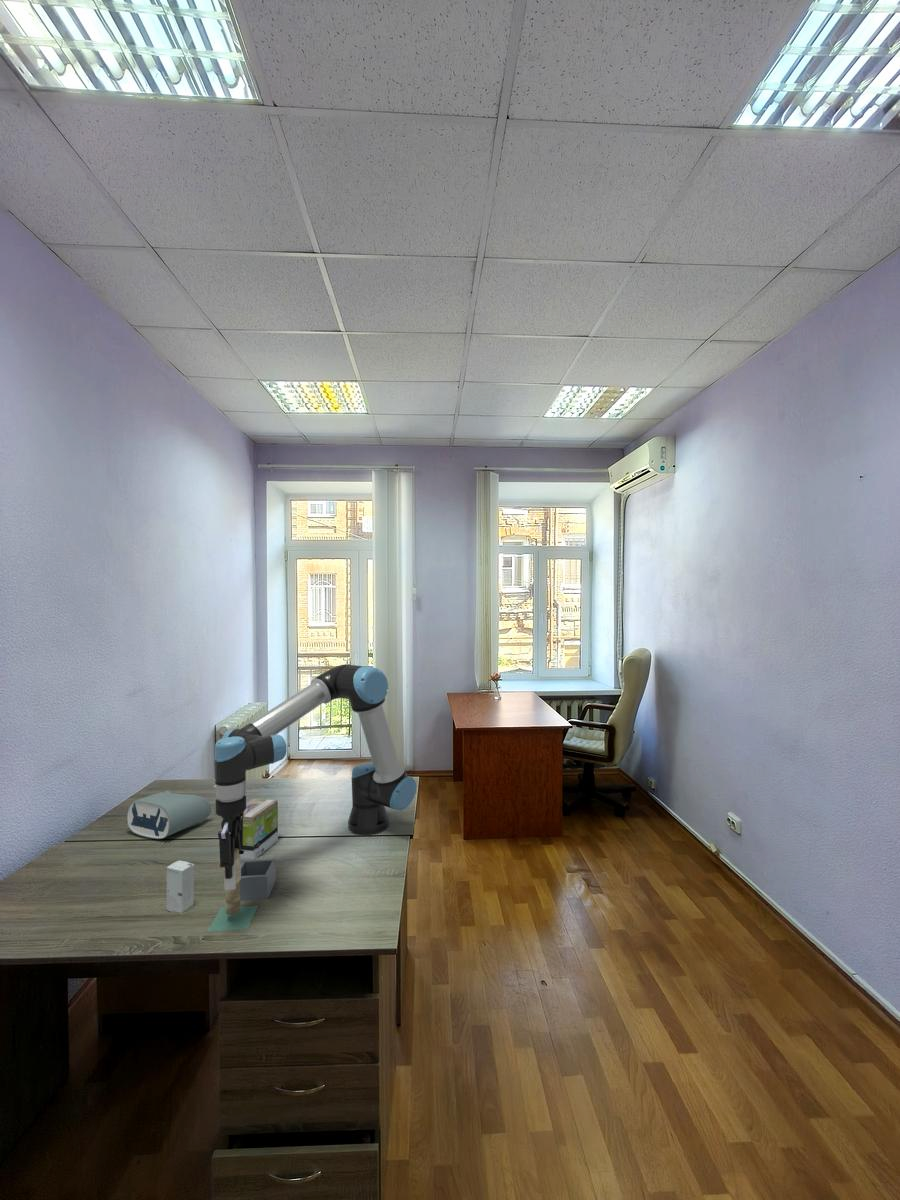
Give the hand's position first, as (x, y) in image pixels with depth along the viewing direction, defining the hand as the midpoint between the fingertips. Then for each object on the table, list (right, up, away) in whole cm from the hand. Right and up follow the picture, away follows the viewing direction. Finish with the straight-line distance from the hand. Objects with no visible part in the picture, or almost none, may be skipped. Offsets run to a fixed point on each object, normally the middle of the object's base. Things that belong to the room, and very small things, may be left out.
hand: (232, 884), depth 138 cm
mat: (0, -10, 0) cm, 10 cm away
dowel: (0, -7, 0) cm, 7 cm away
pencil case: (-47, -10, +57) cm, 75 cm away
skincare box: (-17, -10, +6) cm, 21 cm away
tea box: (-9, -10, +39) cm, 41 cm away
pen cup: (+1, -10, +13) cm, 16 cm away
